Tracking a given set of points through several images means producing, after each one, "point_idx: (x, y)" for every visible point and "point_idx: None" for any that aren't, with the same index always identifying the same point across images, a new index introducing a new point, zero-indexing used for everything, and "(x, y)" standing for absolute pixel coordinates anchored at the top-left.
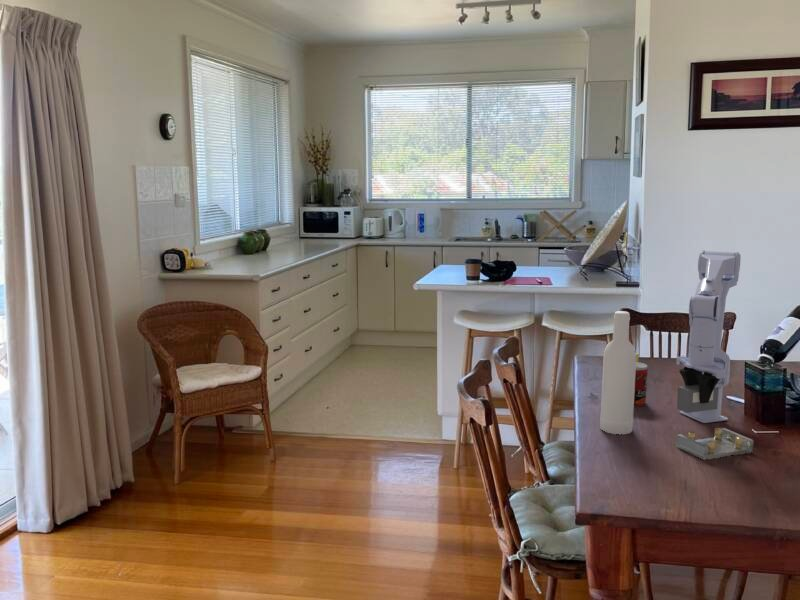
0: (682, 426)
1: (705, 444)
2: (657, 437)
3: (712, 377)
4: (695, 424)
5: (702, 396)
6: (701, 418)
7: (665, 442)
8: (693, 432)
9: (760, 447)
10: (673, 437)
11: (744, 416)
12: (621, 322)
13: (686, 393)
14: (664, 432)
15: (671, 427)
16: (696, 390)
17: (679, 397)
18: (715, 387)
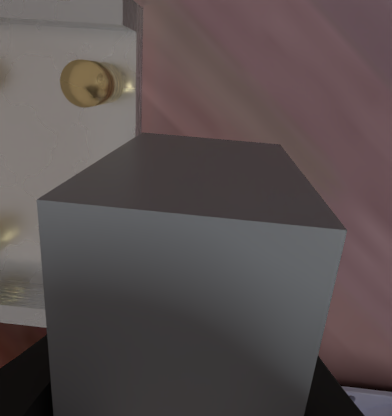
0: (364, 280)
1: (62, 140)
2: (312, 22)
3: None
4: (349, 349)
5: (38, 343)
6: (370, 410)
7: (225, 2)
8: (84, 102)
9: (21, 350)
10: (266, 113)
11: None
12: None
13: (101, 181)
14: (351, 128)
15: (386, 223)
16: (58, 357)
17: (261, 169)
18: None
